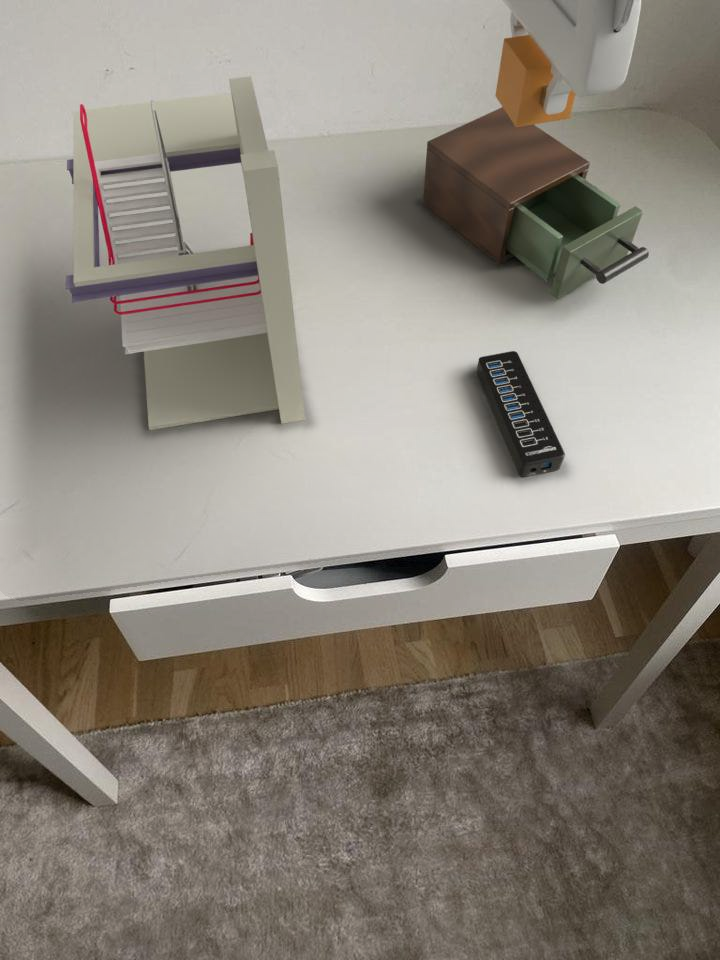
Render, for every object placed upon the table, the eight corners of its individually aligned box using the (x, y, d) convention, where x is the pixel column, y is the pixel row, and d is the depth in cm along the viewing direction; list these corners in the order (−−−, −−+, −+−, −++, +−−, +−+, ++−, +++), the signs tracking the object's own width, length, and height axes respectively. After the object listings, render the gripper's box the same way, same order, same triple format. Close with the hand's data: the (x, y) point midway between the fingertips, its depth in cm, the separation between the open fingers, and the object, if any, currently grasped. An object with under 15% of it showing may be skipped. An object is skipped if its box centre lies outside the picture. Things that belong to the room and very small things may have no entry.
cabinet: (573, 223, 97) (590, 162, 90) (498, 264, 93) (510, 203, 86) (495, 167, 104) (505, 105, 96) (422, 203, 100) (427, 141, 92)
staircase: (121, 269, 93) (30, 7, 68) (269, 248, 95) (234, -14, 70) (129, 448, 78) (18, 199, 53) (304, 419, 80) (277, 166, 55)
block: (547, 87, 68) (559, 29, 64) (570, 118, 66) (584, 60, 62) (494, 96, 68) (503, 38, 63) (515, 127, 65) (526, 69, 61)
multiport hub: (513, 364, 84) (516, 349, 82) (561, 469, 77) (566, 456, 75) (474, 371, 84) (477, 357, 82) (520, 478, 76) (524, 465, 74)
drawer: (650, 277, 90) (670, 229, 85) (581, 319, 87) (596, 272, 81) (547, 201, 98) (558, 153, 92) (479, 237, 94) (486, 189, 89)
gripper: (686, -43, 49) (624, 153, 60) (557, -160, 60) (525, 25, 71) (595, -30, 48) (550, 166, 59) (481, -151, 59) (461, 35, 70)
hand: (536, 88), depth 65 cm, fingers closed on block, 5 cm apart
